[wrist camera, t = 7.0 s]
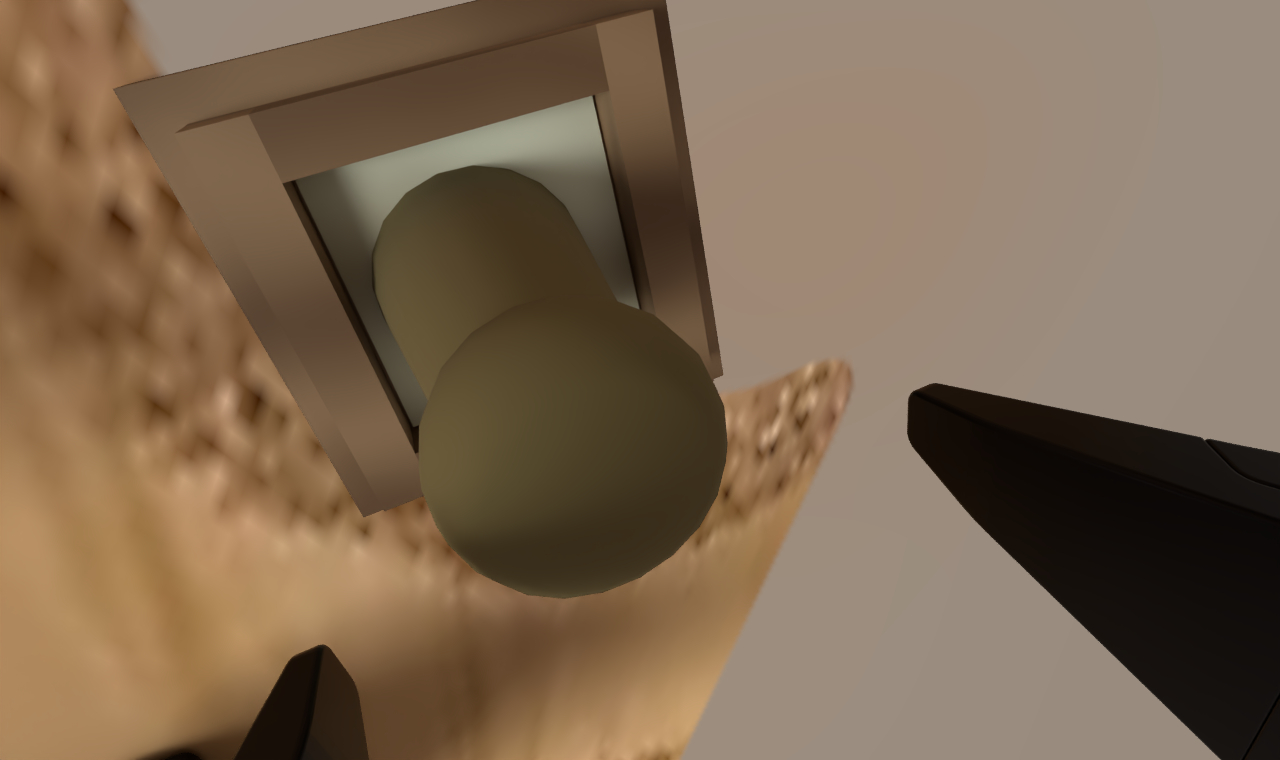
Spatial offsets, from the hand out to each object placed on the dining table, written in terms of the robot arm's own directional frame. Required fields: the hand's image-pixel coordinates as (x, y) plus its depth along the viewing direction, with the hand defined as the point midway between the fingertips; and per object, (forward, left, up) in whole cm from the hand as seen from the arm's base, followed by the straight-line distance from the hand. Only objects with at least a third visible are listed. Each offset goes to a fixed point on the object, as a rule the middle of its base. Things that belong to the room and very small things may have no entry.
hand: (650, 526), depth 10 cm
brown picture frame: (0, 0, -13) cm, 13 cm away
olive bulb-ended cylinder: (0, 0, -12) cm, 12 cm away
